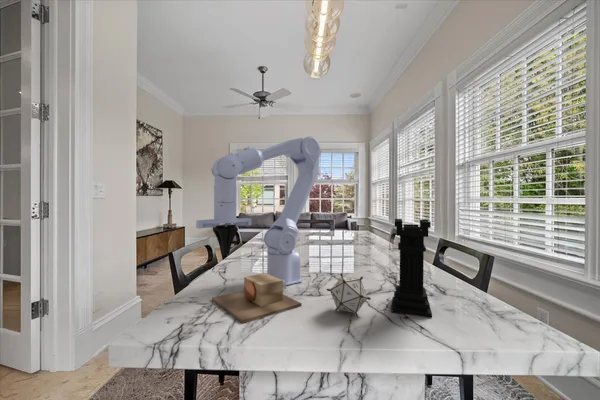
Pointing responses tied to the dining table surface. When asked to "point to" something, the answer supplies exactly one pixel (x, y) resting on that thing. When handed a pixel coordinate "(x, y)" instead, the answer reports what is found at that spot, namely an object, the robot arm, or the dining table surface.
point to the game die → (348, 294)
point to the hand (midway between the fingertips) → (225, 254)
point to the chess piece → (411, 270)
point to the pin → (254, 290)
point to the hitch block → (257, 299)
